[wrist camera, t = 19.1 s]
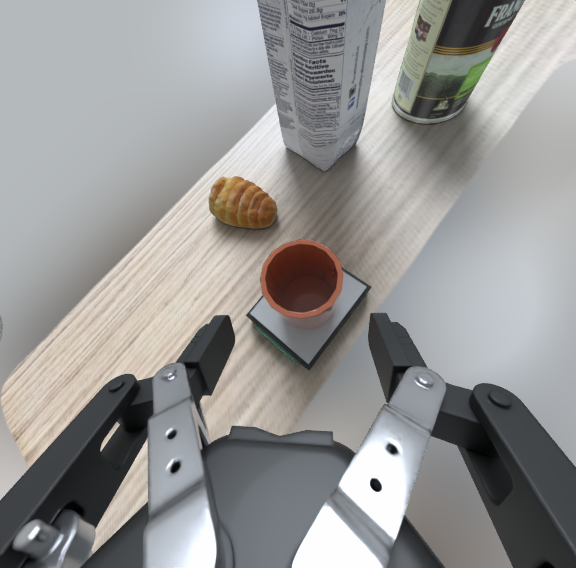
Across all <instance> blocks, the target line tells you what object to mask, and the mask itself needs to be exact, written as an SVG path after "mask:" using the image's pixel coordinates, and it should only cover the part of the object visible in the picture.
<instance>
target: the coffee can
mask: <svg viewBox="0 0 576 568" xmlns="http://www.w3.org/2000/svg"><path fill="white" fill-rule="evenodd" d="M524 1H525V0H420V2H419V5H418V9H417V12H416V16H415V19H414V23H413V27H412V30H411V34H410V38H409V41H408V44H407V48H406V51H405V55H404V59H403V62H402V66H401V69H400V73H399V77H398V80H397V84H396V87H395V91H394V93H393V96H392V105H393V107H394V109H395V111H396V112H397V113H398V114H399V115H400V116H402V117H403V118H405V119H407V120H410V121H412V122H416V123H422V124H432V123H439V122H443V121H446V120H448V119H451V118H452V117H454V116H456V115H457V114H458V113H459V112H460V111H461V110H462V109H463V108H464V106H465V104H466V101H467V100H468V98H469V96H470V94H471V93H472V91H473V89H474V87H475V86H476V84H477V82H478V80H479V79H480V77H481V75H482V74H483V72H484V70H485V68H486V67H487V65H488V63H489V62H490V60H491V58H492V56H493V55H494V53H495V51H496V49H497V48H498V46H499V44H500V43H501V41H502V39H503V37H504V36H505V34H506V32H507V31H508V29H509V27H510V25H511V24H512V22H513V20H514V19H515V17H516V15H517V13H518V12H519V10H520V8H521V7H522V5H523V3H524Z"/></svg>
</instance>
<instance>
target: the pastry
mask: <svg viewBox="0 0 576 568" xmlns="http://www.w3.org/2000/svg"><path fill="white" fill-rule="evenodd" d="M209 208H210V212H211V213H212V214H213V215H214V216H215V217H216V218H217V219H218V220H219V221H221V222H223V223H226V224H228V225H231V226H236V227H242V228H251V229H261V228H266V227H269V226H270V225H271V224H272V223H273V221H274V220H275V218H276V213H277V206H276V202H275V201H274V200H273V199H272V198H270V197H269V195H268V193H266V192H264V191H263V190H262V189H261V188H260V187H259V186H256V185H255V184H254V183H252V182H249V181H248V180H245V181H244V179H243V178H241V177H237V176H235V177H233V178H226V177H222V178H219V179H218V180H217V181H216V182H215V184H214V185H213V187H212V189H211V194H210V196H209Z"/></svg>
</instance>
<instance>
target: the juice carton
mask: <svg viewBox="0 0 576 568" xmlns="http://www.w3.org/2000/svg"><path fill="white" fill-rule="evenodd" d="M257 1H258V7H259V12H260V18H261V23H262V29H263V34H264V39H265V45H266V50H267V56H268V62H269V67H270V73H271V77H272V83H273V88H274V94H275V100H276V105H277V111H278V116H279V122H280V127H281V132H282V137H283V141H284V144H285V146H286V147H288V148H289V149H290V150H292V151H294V152H295V153H297V154H299V155H300V156H302V157H304V158H305V159H306V160H308V161H309V162H311V163H312V164H313V165H315V166H316V167H317V168H319V169H321V170H322V171H326V170H328V169H329V168H330V167H331V166H332V165H333V164H334V163H335V162H336V161H337V160H338V159H339V158H340V157H341V156H342V155H343V154H345V153H346V152H347V151H348V150H349V149H350V148H352V147H353V146H354V145H355V144H356V142H357V140H358V138H359V135H360V132H361V129H362V126H363V122H364V117H365V111H366V106H367V101H368V95H369V90H370V84H371V79H372V74H373V68H374V63H375V57H376V52H377V46H378V41H379V35H380V30H381V24H382V19H383V13H384V8H385V2H386V0H257Z"/></svg>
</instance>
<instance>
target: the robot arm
mask: <svg viewBox="0 0 576 568" xmlns="http://www.w3.org/2000/svg"><path fill="white" fill-rule="evenodd" d="M368 341H369V347H370V350H371V353H372V357H373V360H374V363H375V366H376V370H377V373H378V376H379V379H380V383H381V386H382V389H383V392H384V396H385V399H386V402H387V403H388V404H387V405H386V404H384V405H383V407H382V408H381V410H380V412H379V414H378V415H377V417H376V419H375V421H374V422H373V424H372V426H371V428H370V430H369V431H368V433H367V435H366V437H365V438H364V440H363V442H362V444H361V445H360V447H359V449H358V451H357V453H354V452H353V451H352V450H351V449H349V448H348V447H346V446H345V445H343V444H341V443H339V442H336V441H334V440H333V432H329V431H311V430H306V431H301V432H296V433H292V434H287V435H283V436H278V435H275V434H272V433H270V432H267V431H264V430H262V429H259V428H256V427H242V426H232V428H231V431H230V434H229V435H226V436H224V437H221V438H219V439H217V440H215V441H213V442H211V439H210V436H209V432H208V428H207V424H206V420H205V416H204V412H203V408H202V404H201V402H200V400H201V398H202V396H203V395H209V396H211V395H212V393H213V391H214V389H215V386H216V384H217V382H218V380H219V378H220V375H221V373H222V371H223V369H224V367H225V365H226V362H227V360H228V358H229V356H230V354H231V351H232V349H233V347H234V344H235V335H234V331H233V327H232V324H231V320H230V317H229V316H228V315H216V316H214V317H213V319H212V320H211V322H210V323H209V324H206V325H205V326H203V327H202V328H201V329H199V331H198V332H197V333H196V335H195V336H194V338H193V339H192V340H191V342H190V343H189V344H188V346H187V347H186V349H185V350H184V351H183V353H182V354H181V356H180V357H179V358H178V360H177V361H176V363H172V364H169V365H167V366H165V367H163V368H162V369H160V370H159V371H158V372H157V373H156V374H155V376H154V377H151V378H147V379H143V380H139V381H137V379H136V378H135V376H134V375H132V374H124V375H121V376H118V377H116V378H114V379H112V380H111V381H109V382H108V383H107V384H106V385H105V386H104V387H103V388H102V389H101V390H100V391H99V392H98V393H97V394H96V395H95V397H94V398H93V399H92V400H91V401H90V402H89V403H88V404H87V405H86V406H85V408H84V409H83V410H82V411H81V412H80V413H79V414H78V415H77V416H76V417H75V419H74V420H73V421H72V422H71V423H70V424H69V425H68V426H67V427H66V429H65V430H64V431H63V432H62V433H61V434H60V435H59V436H58V437H57V438H56V440H55V441H54V442H53V443H52V444H51V445H50V446H49V447H48V448H47V449H46V451H45V452H44V453H43V454H42V455H41V456H40V457H39V458H38V459H37V460H36V462H35V463H34V464H33V465H32V466H31V467H30V468H29V469H28V471H27V472H26V473H25V474H24V475H23V476H22V477H21V478H20V479H19V480H18V481H17V483H16V484H15V485H14V486H13V487H12V488H11V489H10V490H9V492H8V493H7V494H6V495H5V496H4V497H3V498H2V499H1V500H0V568H445V567H444V565H443V564H442V563H441V561H440V560H439V559H438V557H437V556H436V555H435V554H434V552H433V551H432V550H431V548H430V547H429V546H428V545H427V543H426V542H425V541H424V539H423V538H422V537H421V535H420V534H419V533H418V531H417V530H416V529H415V528H414V526H413V525H412V524H411V522H410V521H409V520H408V519H407V517H406V516H405V515H404V513H405V510H406V507H407V504H408V501H409V498H410V495H411V492H412V489H413V486H414V484H415V481H416V478H417V475H418V472H419V469H420V466H421V463H422V460H423V457H424V454H425V451H426V448H427V445H428V442H429V439H430V436H433V437H436V438H439V439H441V440H444V441H447V442H449V443H452V444H455V445H457V446H458V448H459V450H460V452H461V454H462V457H463V459H464V461H465V463H466V465H467V468H468V470H469V472H470V474H471V477H472V479H473V481H474V483H475V485H476V487H477V490H478V491H479V494H480V496H481V498H482V501H483V503H484V505H485V507H486V509H487V511H488V514H489V516H490V518H491V520H492V522H493V525H494V527H495V529H496V531H497V533H498V536H499V538H500V540H501V542H502V544H503V546H504V549H505V551H506V552H507V555H508V557H509V559H510V562H511V564H512V566H513V568H576V467H575V466H574V465H573V463H572V462H571V461H570V460H569V459H568V457H567V456H566V455H565V454H564V452H563V451H562V450H561V449H560V448H559V447H558V445H557V444H556V443H555V441H554V440H553V439H552V438H551V437H550V435H549V434H548V433H547V432H546V430H545V429H544V428H543V427H542V426H541V424H540V423H539V422H538V421H537V419H536V418H535V417H534V416H533V415H532V413H531V412H530V411H529V410H528V408H527V407H526V406H525V405H524V404H523V402H522V401H521V400H520V399H519V398H517V397H516V396H515V395H514V394H513V393H511V392H509V391H508V390H506V389H504V388H502V387H499V386H496V385H493V384H488V383H487V384H486V383H482V384H478V385H476V386H475V387H474V389H473V390H469V389H465V388H462V387H457V386H454V385H451V384H448V383H445V382H444V380H443V379H442V378H441V377H440V376H439V375H438V374H437V373H435V372H434V371H432V370H430V369H428V368H427V366H426V364H425V362H424V360H423V359H422V357H421V355H420V353H419V352H418V350H417V348H416V346H415V345H414V344H413V341H412V339H411V338H410V336H409V334H408V332H407V331H406V329H405V328H404V327H403V326H401V325H400V324H399V323H398V322H391V321H390V320H389V317H388V315H387V314H386V313H371V314H370V322H369V333H368ZM116 422H118V423H119V424H120V426H119V427H118V428H117V430H116V431H115V433H114V434H113V435H112V437H111V438H110V440H109V441H108V443H107V444H106V445H105V447H104V448H103V450H102V451H101V452H100V448H101V444H102V442H103V440H104V438H105V437H106V436H107V434H108V433H109V431H110V430H111V429H112V427H113V426H114V425H115V423H116ZM147 437H148V502H147V503H146V504H145V505H144V506H143V507H142V508H141V509H140V510H139V511H138V512H137V513H135V514H134V515H133V516H132V517H131V518H130V519H129V520H128V521H127V522H126V523H125V524H124V525H123V526H122V527H121V528H120V529H119V530H118V531H117V532H116V533H115V534H114V535H113V536H112V537H111V538H109V539H108V540H107V541H106V542H105V543H104V544H103V545H102V546H101V547H100V548H99V549H98V550H97V551H96V552H95V553H94V554H93V553H92V550H91V549H92V546H93V544H94V540H95V529H96V527H97V525H98V523H99V522H100V520H101V518H102V516H103V515H104V513H105V511H106V509H107V508H108V506H109V504H110V502H111V501H112V499H113V497H114V495H115V494H116V492H117V490H118V488H119V487H120V485H121V483H122V481H123V480H124V478H125V476H126V474H127V472H128V471H129V469H130V467H131V465H132V464H133V462H134V460H135V458H136V457H137V455H138V453H139V451H140V450H141V448H142V446H143V444H144V443H145V441H146V439H147Z"/></svg>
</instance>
